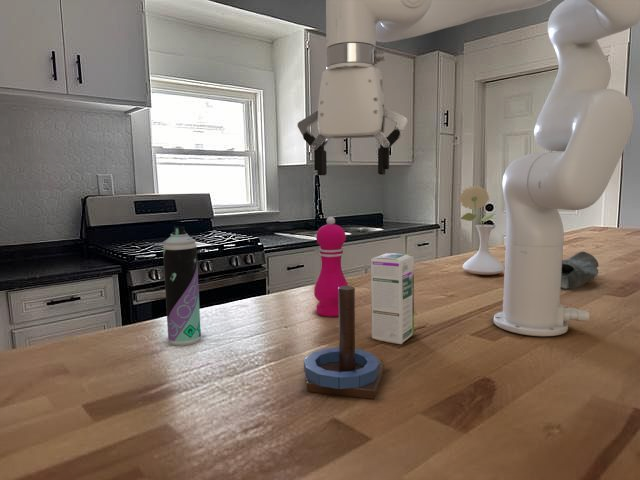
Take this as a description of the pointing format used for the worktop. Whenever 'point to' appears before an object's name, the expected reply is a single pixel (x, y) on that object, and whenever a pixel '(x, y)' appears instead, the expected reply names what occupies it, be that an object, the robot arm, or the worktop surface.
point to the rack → (347, 351)
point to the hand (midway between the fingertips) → (351, 174)
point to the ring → (341, 378)
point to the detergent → (578, 270)
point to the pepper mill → (330, 268)
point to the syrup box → (392, 297)
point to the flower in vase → (480, 234)
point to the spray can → (181, 288)
